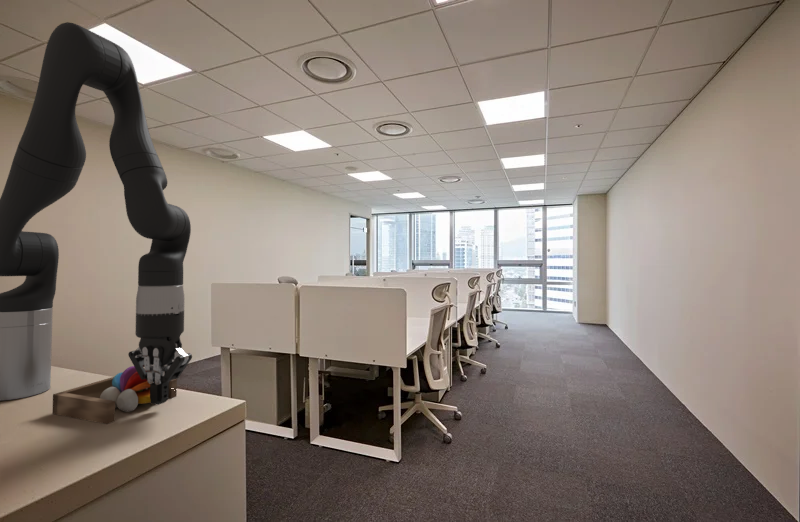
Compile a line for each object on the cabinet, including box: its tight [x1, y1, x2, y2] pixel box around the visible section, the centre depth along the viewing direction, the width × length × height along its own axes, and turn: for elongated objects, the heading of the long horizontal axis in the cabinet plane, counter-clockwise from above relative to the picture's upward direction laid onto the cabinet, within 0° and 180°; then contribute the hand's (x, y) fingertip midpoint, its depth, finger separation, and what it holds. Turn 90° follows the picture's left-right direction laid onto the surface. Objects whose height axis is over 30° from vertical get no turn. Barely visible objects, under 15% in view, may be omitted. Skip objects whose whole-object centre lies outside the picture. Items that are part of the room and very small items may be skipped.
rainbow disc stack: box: [100, 365, 151, 413], centre depth 70 cm, size 8×10×7 cm
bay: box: [51, 376, 178, 425], centre depth 69 cm, size 13×14×4 cm
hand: (159, 402), depth 67 cm, fingers closed
